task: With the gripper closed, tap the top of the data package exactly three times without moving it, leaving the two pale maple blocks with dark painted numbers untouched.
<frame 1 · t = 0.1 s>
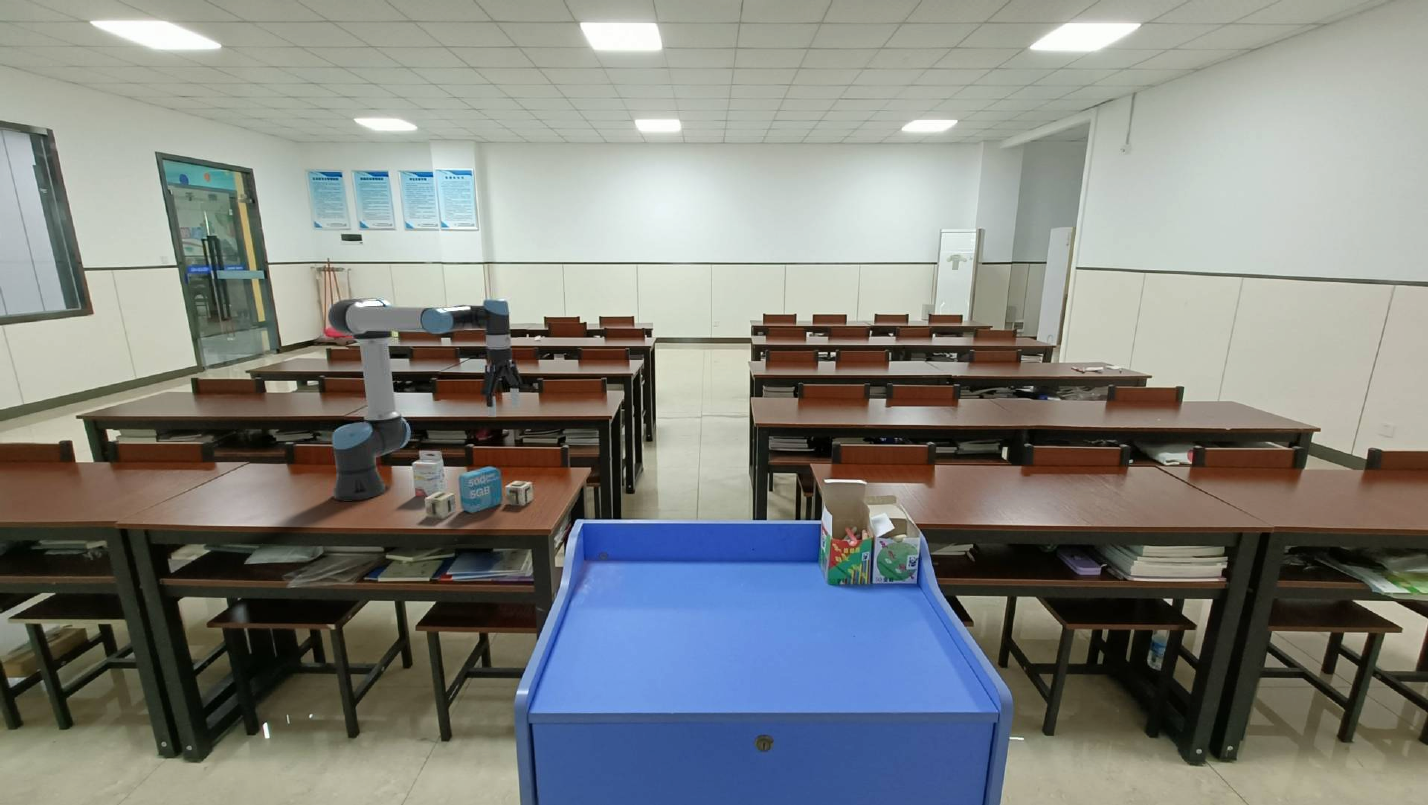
hand: (504, 411, 204), 28 cm above the table, tool pointing down, fingers open, 13 cm apart
ink cartridge box: (430, 495, 209), on the table
maple block one: (441, 514, 192), on the table
maple block seven: (519, 502, 201), on the table
data package: (482, 507, 197), on the table
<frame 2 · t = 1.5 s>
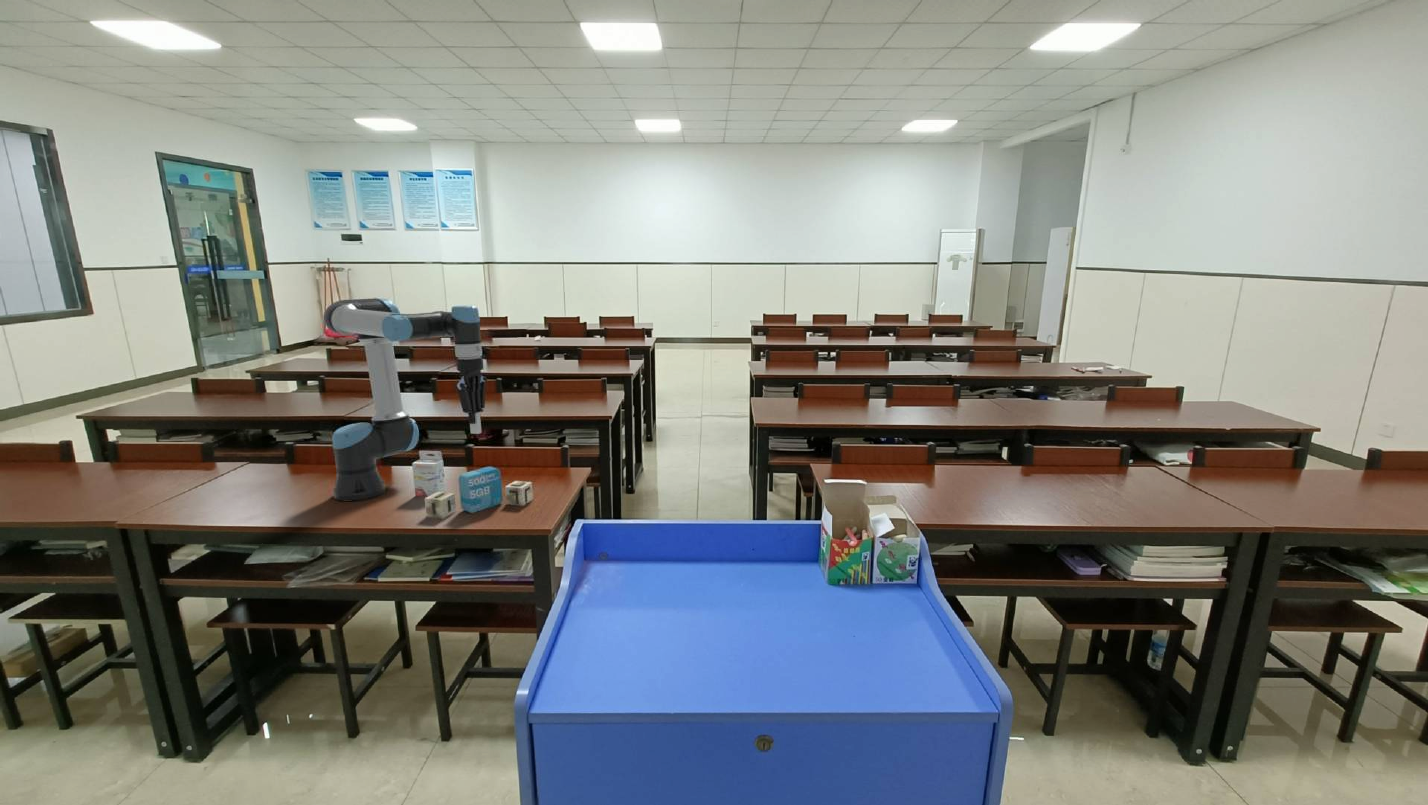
hand: (476, 433, 192), 24 cm above the table, tool pointing down, fingers closed
nothing on the table moved.
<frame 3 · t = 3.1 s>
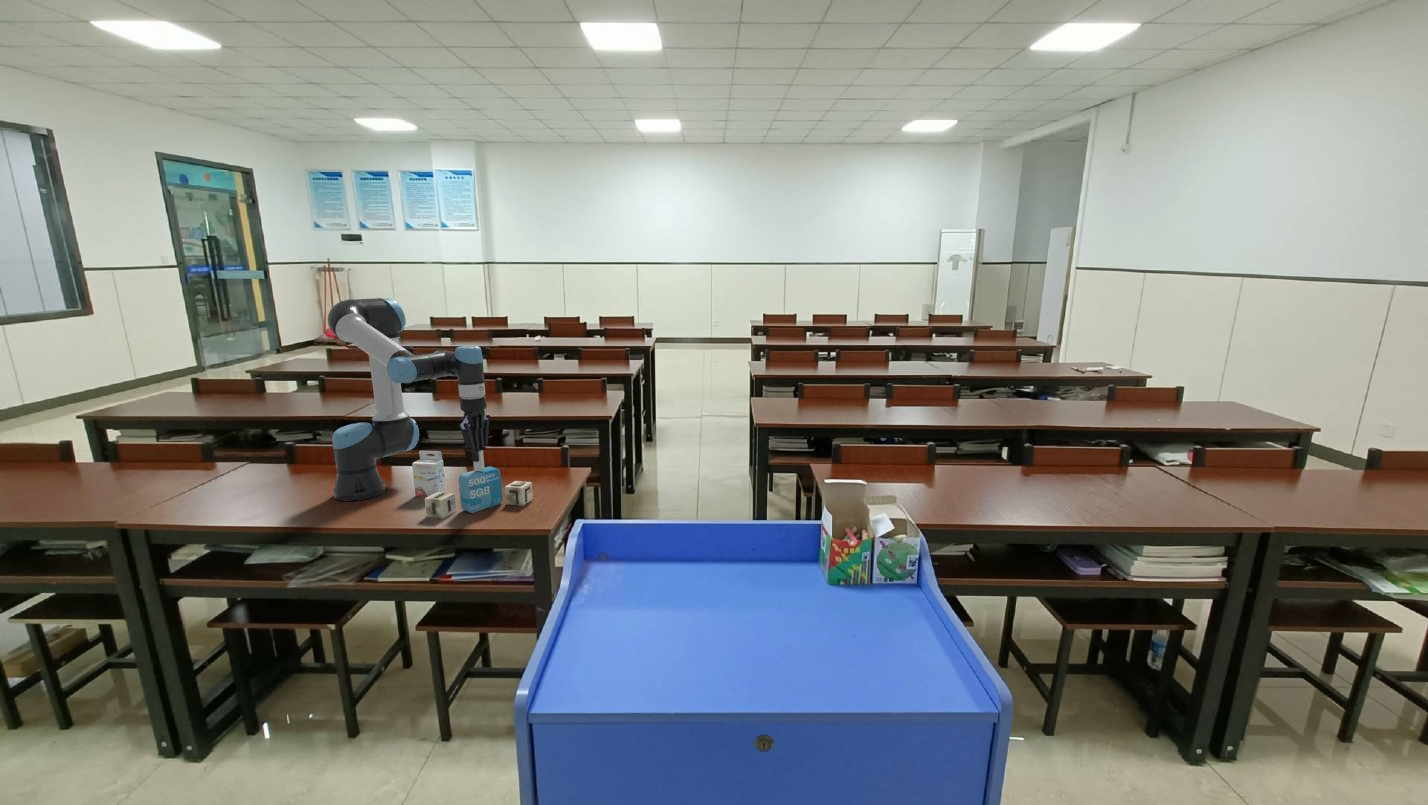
hand: (479, 470, 194), 12 cm above the table, tool pointing down, fingers closed
data package: (482, 507, 197), on the table, touching gripper
everything else where it was.
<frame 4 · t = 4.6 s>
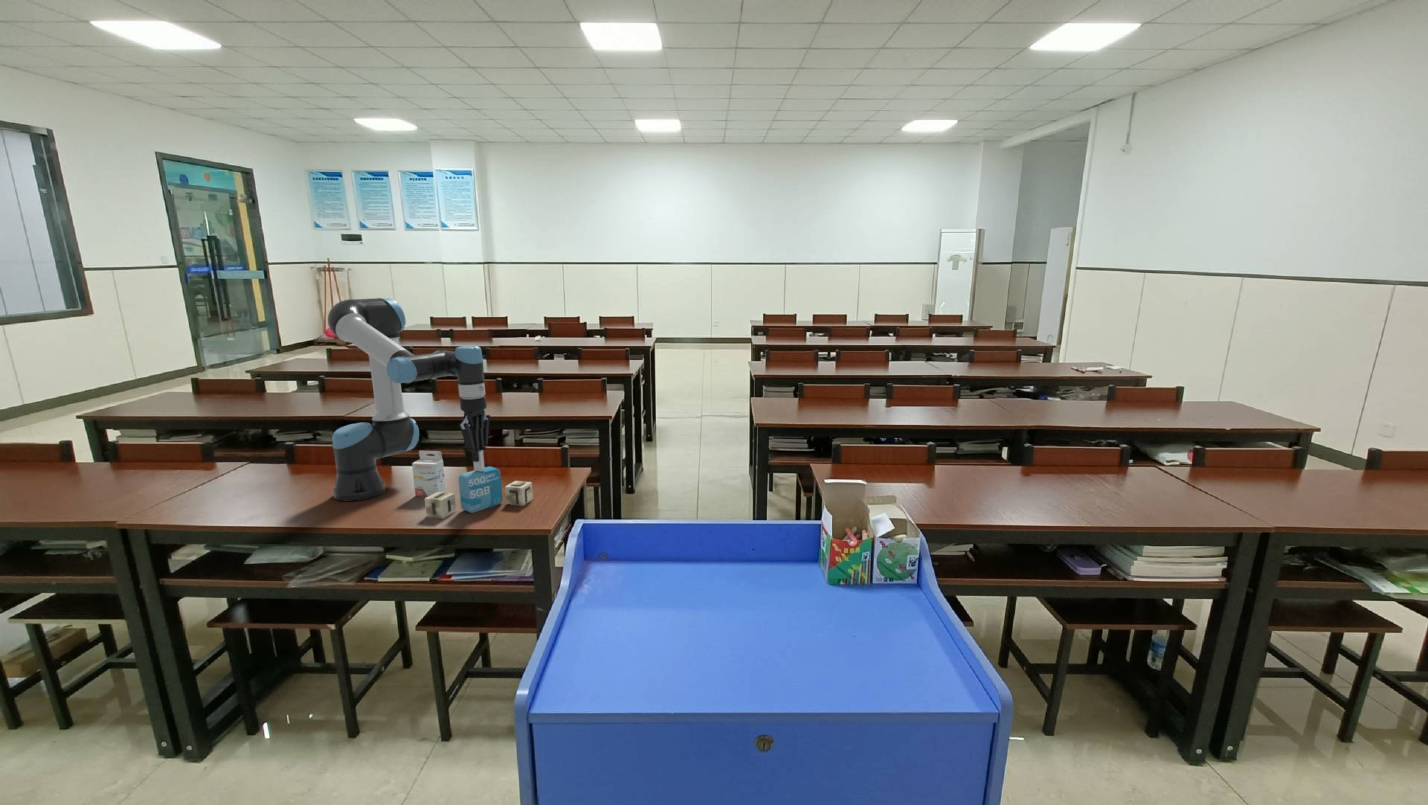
hand: (479, 470, 194), 12 cm above the table, tool pointing down, fingers closed
nothing on the table moved.
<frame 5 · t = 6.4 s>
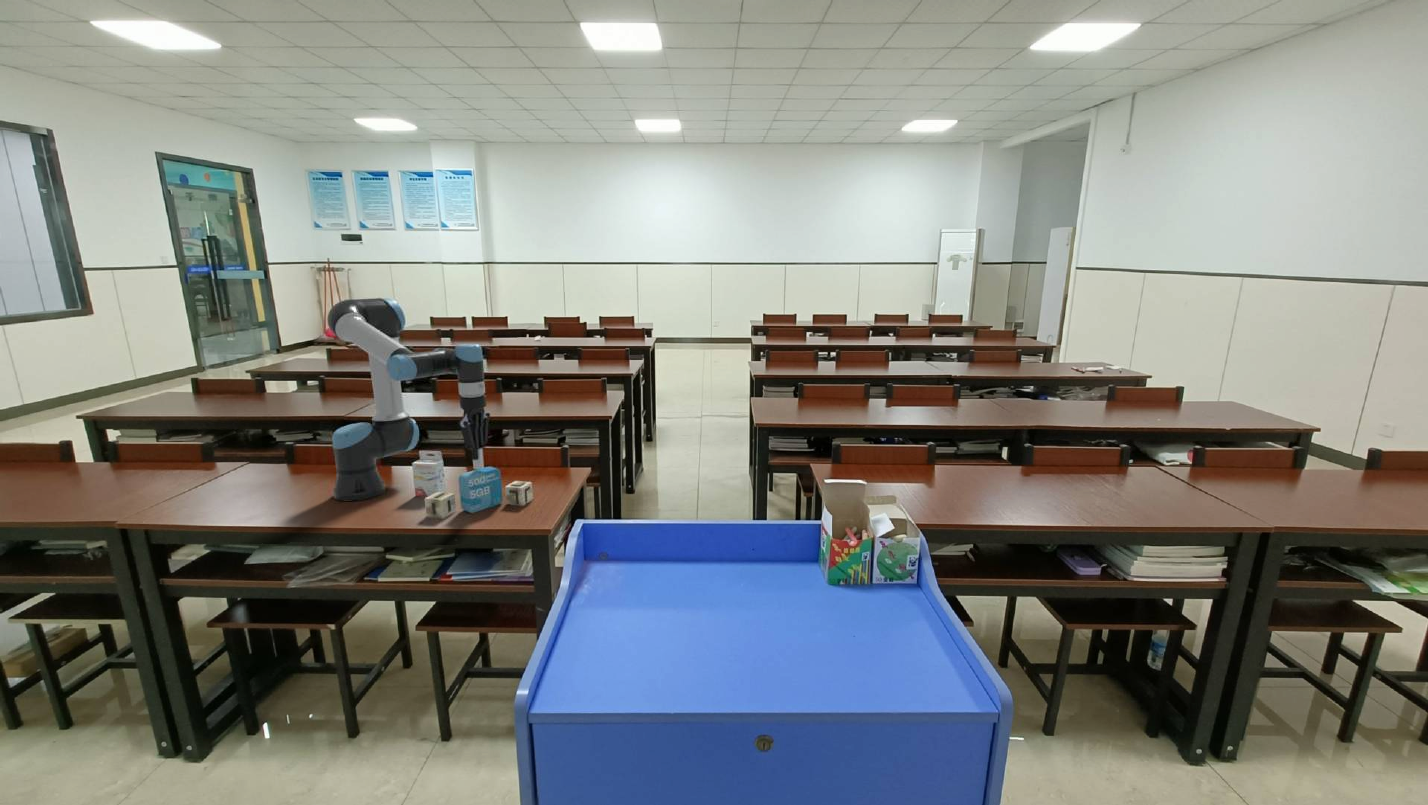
hand: (478, 468, 194), 13 cm above the table, tool pointing down, fingers closed
data package: (482, 507, 197), on the table
everything else where it was.
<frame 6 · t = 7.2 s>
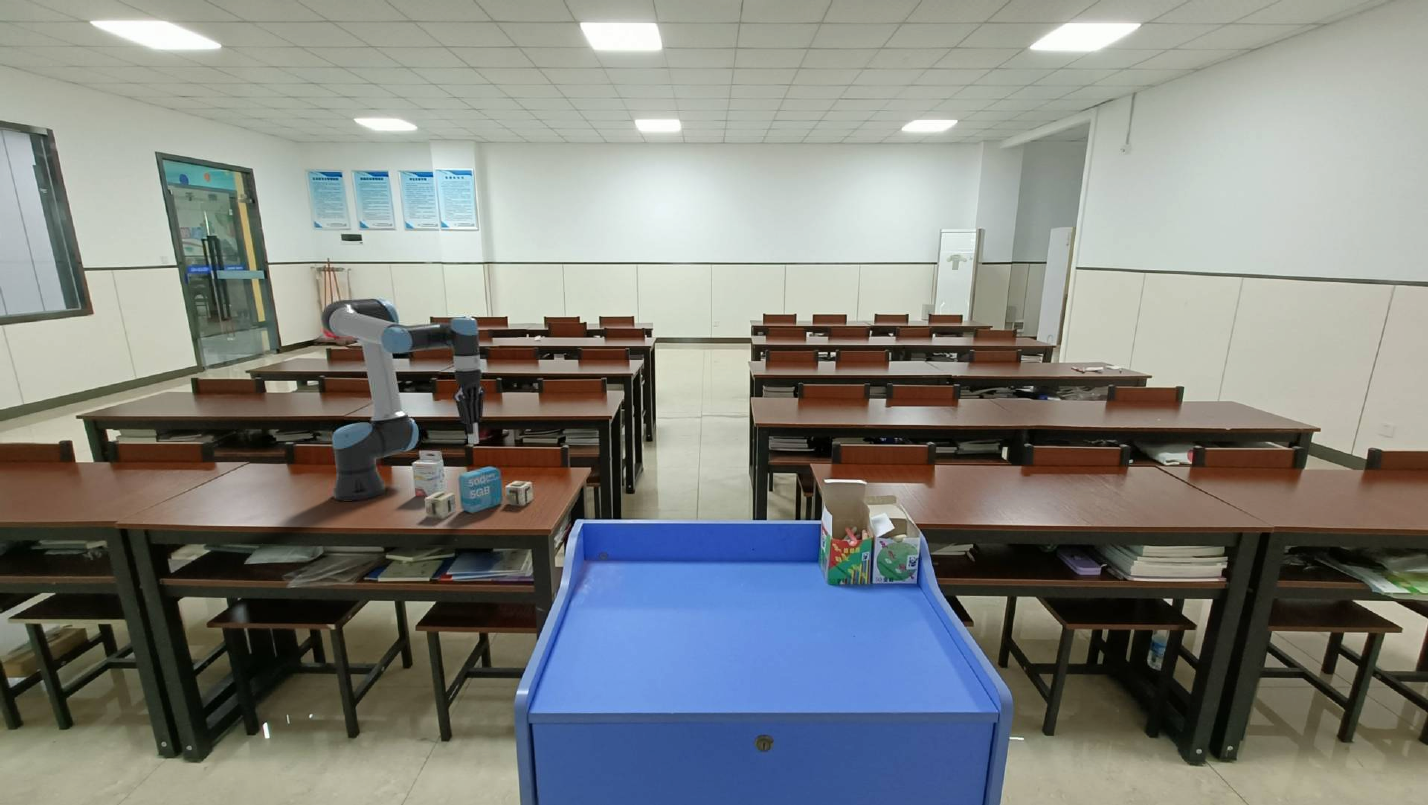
hand: (473, 443, 195), 21 cm above the table, tool pointing down, fingers closed
nothing on the table moved.
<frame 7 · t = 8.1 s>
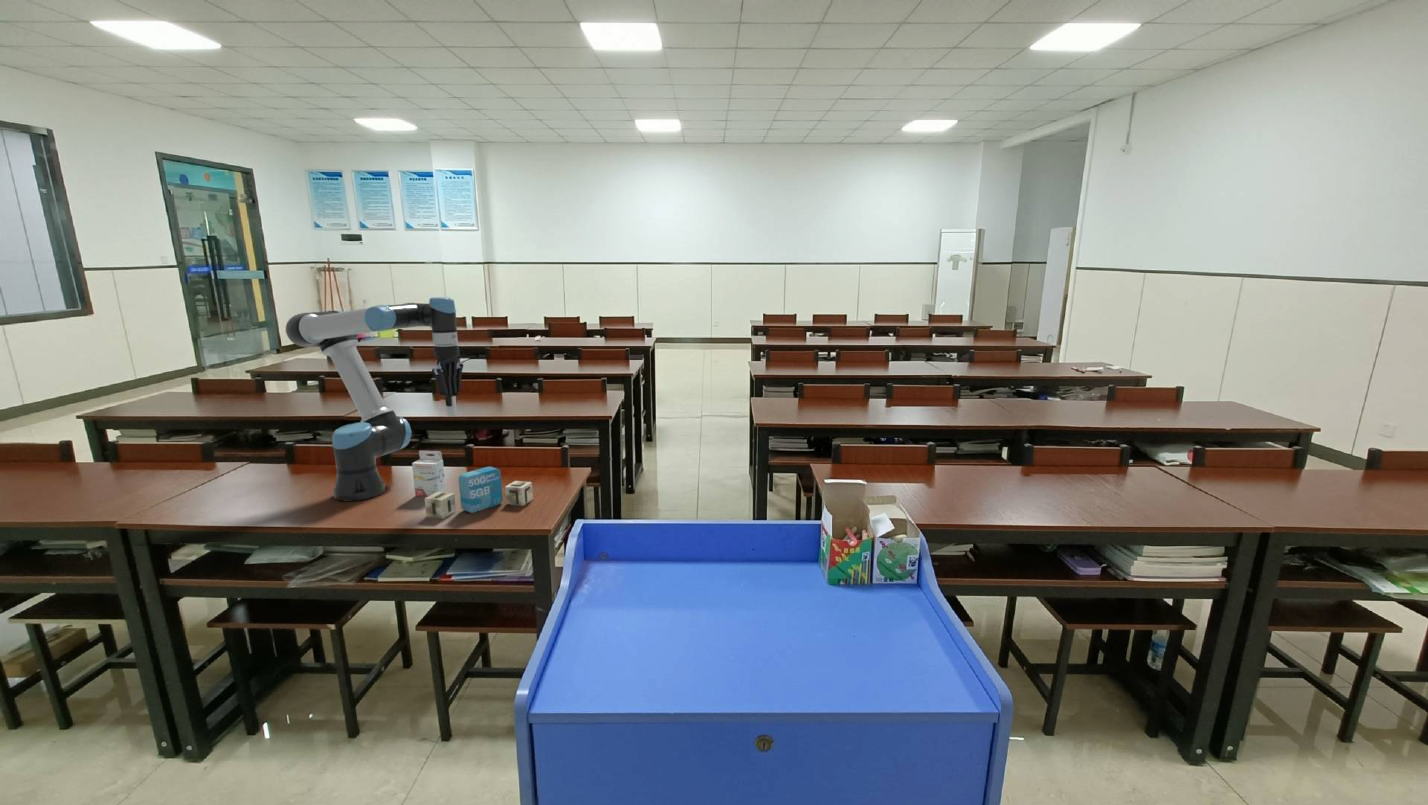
hand: (452, 415, 208), 26 cm above the table, tool pointing down, fingers closed
nothing on the table moved.
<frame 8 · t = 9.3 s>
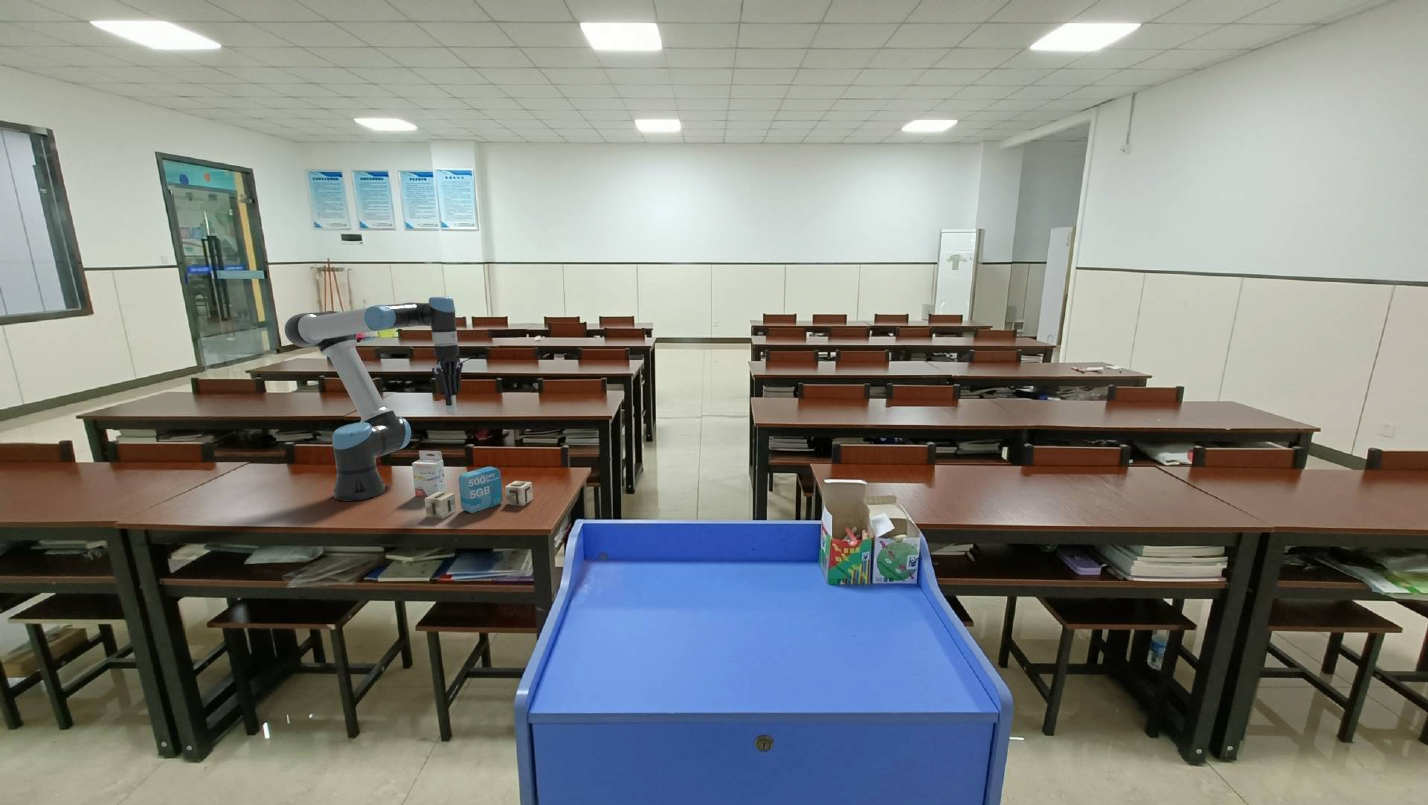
hand: (452, 414, 208), 26 cm above the table, tool pointing down, fingers closed
nothing on the table moved.
at the end: data package moved 0.3 cm from its start; data package tilted 0°; the gripper is holding nothing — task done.
